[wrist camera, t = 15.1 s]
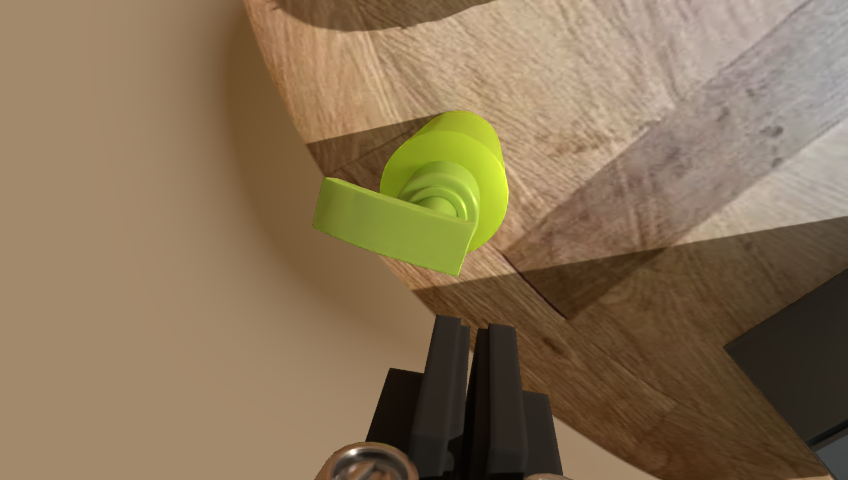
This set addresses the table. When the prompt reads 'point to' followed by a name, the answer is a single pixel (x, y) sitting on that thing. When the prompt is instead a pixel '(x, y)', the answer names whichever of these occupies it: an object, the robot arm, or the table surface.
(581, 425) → the table surface
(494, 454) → the robot arm
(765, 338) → the carton
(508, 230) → the table surface
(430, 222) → the soap dispenser
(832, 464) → the flap
